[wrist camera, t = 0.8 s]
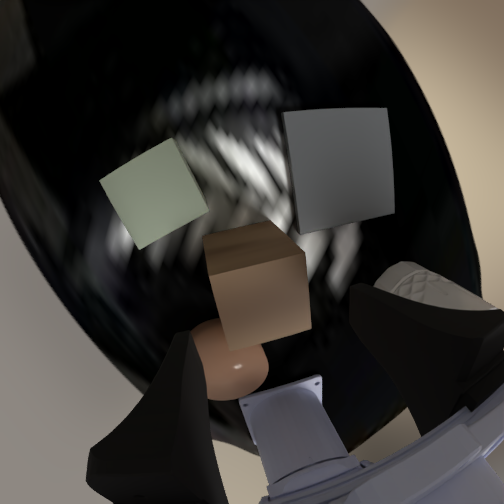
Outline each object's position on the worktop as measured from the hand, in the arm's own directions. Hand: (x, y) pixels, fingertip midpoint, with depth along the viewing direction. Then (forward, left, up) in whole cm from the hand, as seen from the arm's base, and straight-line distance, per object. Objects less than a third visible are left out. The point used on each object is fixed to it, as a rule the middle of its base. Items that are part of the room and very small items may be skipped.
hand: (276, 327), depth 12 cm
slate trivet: (+5, -8, -8) cm, 12 cm away
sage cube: (+6, +4, -8) cm, 11 cm away
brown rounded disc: (-7, +3, -8) cm, 11 cm away
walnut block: (0, 0, -8) cm, 8 cm away
